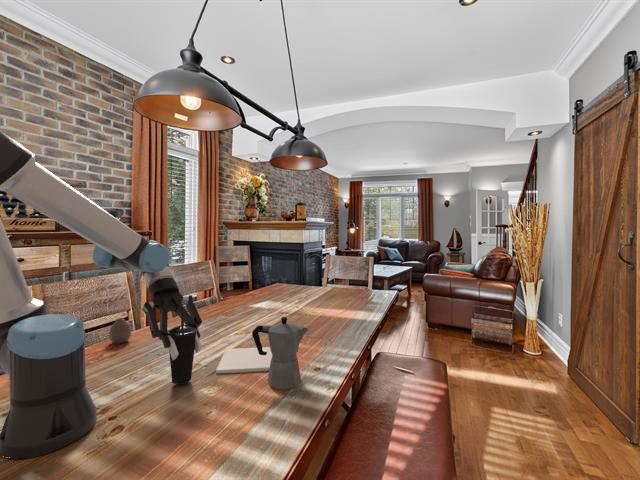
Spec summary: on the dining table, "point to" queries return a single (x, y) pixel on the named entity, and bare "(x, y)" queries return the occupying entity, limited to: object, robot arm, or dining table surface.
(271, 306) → the dining table surface
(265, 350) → the tile
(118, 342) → the grey rounded lump
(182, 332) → the drinking cup
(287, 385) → the coffeepot
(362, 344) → the dining table surface
